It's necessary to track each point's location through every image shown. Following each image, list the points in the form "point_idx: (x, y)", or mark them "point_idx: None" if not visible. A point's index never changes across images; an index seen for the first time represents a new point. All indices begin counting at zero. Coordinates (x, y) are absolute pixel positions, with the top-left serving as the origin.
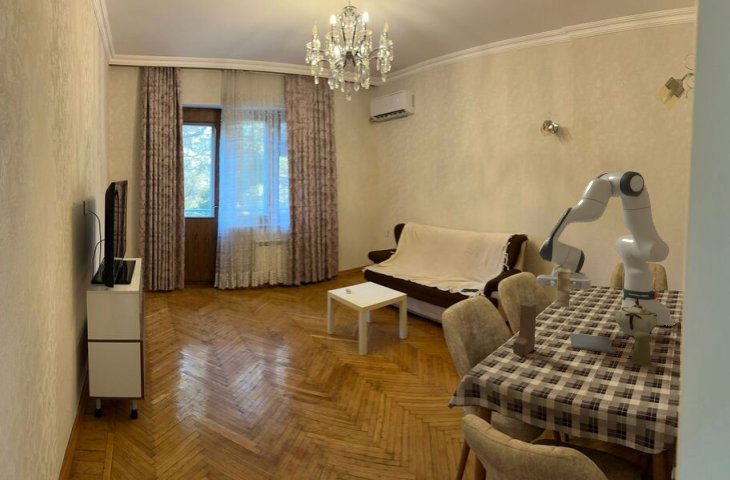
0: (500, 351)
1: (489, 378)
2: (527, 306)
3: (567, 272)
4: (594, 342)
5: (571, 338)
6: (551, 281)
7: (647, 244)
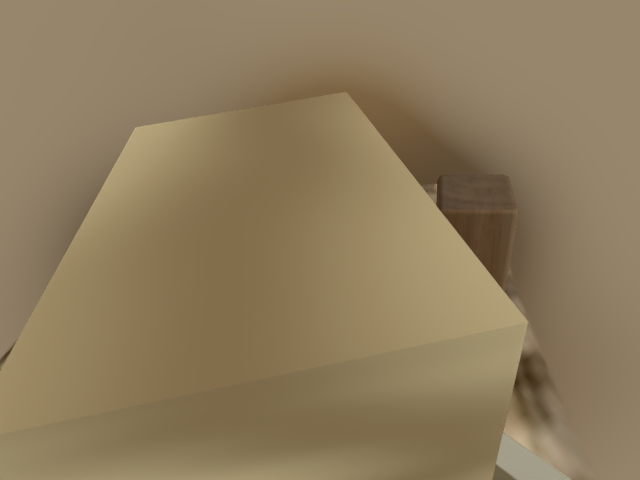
0: (521, 307)
1: (432, 188)
2: (462, 176)
3: (190, 126)
4: None
5: None
6: (559, 472)
7: None
